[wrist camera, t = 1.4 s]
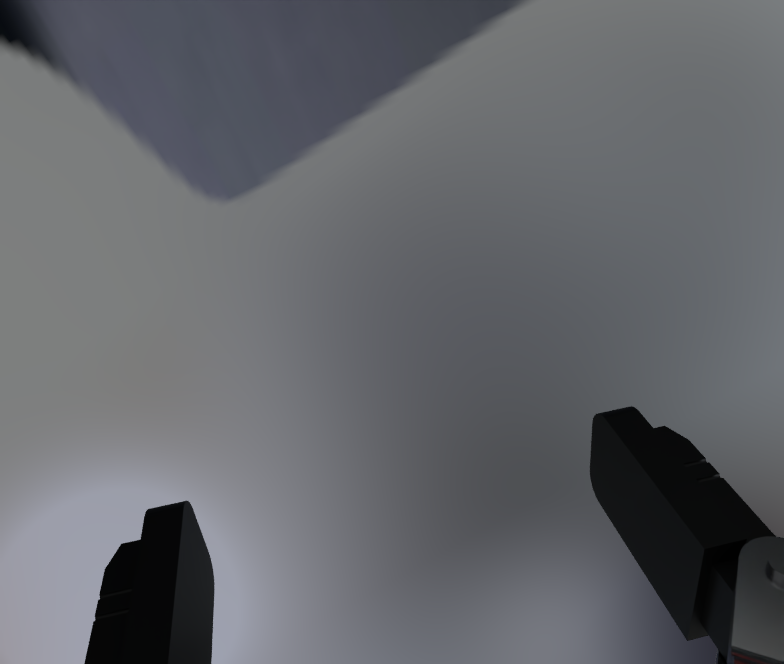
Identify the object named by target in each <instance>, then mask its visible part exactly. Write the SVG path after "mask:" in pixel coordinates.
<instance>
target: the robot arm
mask: <svg viewBox="0 0 784 664" xmlns="http://www.w3.org/2000/svg"><path fill="white" fill-rule="evenodd" d="M590 477H591V482H592V487H593V490H594V492H595V495H596V497H597V499H598V501H599V503H600V505H601V506H602V508H603V509H604V511H605V513H606V514H607V516H608V517H609V519H610V520H611V522H612V523H613V525H614V527H615V528H616V530H617V531H618V533H619V534H620V536H621V538H622V539H623V541H624V542H625V544H626V545H627V547H628V549H629V550H630V552H631V553H632V555H633V556H634V558H635V560H636V561H637V563H638V564H639V566H640V567H641V569H642V570H643V572H644V574H645V575H646V577H647V578H648V580H649V582H650V583H651V584H652V586H653V588H654V589H655V591H656V593H657V594H658V596H659V597H660V599H661V600H662V602H663V603H664V605H665V607H666V608H667V610H668V611H669V613H670V614H671V616H672V618H673V619H674V621H675V622H676V624H677V625H678V627H679V629H680V630H681V632H682V633H683V635H684V636H685V638H686V640H687V641H688V640H693V639H696V638H700V637H704V636H708V635H709V636H710V638H711V639H712V641H713V642H714V644H715V645H716V647H717V648H718V650H717V655H716V661H715V664H784V538H782V537H776V536H775V535H774V534H773V533H772V532H771V531H770V530H769V529H768V527H767V526H766V525H765V524H764V523H763V522H762V521H761V520H760V518H759V517H758V516H757V515H756V514H755V513H754V512H753V511H752V510H751V508H750V507H749V506H748V505H747V504H746V503H745V502H744V501H743V500H742V499H741V497H740V496H739V495H738V494H737V493H736V492H735V491H734V490H733V488H732V487H731V486H730V485H729V484H728V483H727V482H726V481H725V480H724V478H720V476H719V473H718V472H717V471H716V469H715V468H714V467H713V466H712V465H711V464H710V463H707V462H706V458H705V457H704V456H703V455H702V454H701V453H700V452H699V451H698V450H697V448H696V447H695V446H694V445H693V444H692V443H691V442H690V441H689V440H688V439H686V438H685V437H683V436H681V435H680V434H678V433H676V432H674V431H672V430H671V429H669V428H668V427H666V426H662V427H658V428H653V427H652V426H651V425H650V424H649V423H648V422H647V420H646V419H645V418H644V417H643V415H642V414H641V413H640V412H639V411H638V410H637V409H636V408H635V407H626V408H622V409H617V410H612V411H608V412H603V413H598V414H596V415H595V416H594V418H593V424H592V441H591V459H590ZM213 608H214V575H213V568H212V563H211V558H210V555H209V552H208V549H207V547H206V544H205V541H204V538H203V536H202V533H201V530H200V527H199V525H198V522H197V519H196V516H195V514H194V511H193V508H192V506H191V504H190V502H188V501H184V502H179V503H174V504H170V505H165V506H161V507H156V508H152V509H148V510H147V511H146V514H145V517H144V523H143V529H142V534H141V540H137V541H133V542H128V543H123V544H121V546H120V547H119V549H118V550H117V552H116V553H115V555H114V556H113V558H112V559H111V561H110V562H109V564H108V565H107V567H106V569H105V572H104V576H103V581H102V586H101V590H100V600H98V604H97V608H96V613H95V619H96V620H95V621H94V622H93V627H92V632H91V636H90V641H89V645H88V650H87V654H86V659H85V664H211V657H212V633H213Z"/></svg>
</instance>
